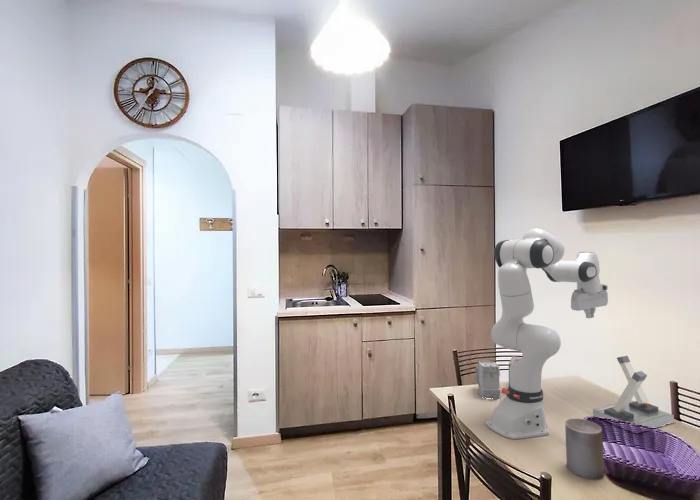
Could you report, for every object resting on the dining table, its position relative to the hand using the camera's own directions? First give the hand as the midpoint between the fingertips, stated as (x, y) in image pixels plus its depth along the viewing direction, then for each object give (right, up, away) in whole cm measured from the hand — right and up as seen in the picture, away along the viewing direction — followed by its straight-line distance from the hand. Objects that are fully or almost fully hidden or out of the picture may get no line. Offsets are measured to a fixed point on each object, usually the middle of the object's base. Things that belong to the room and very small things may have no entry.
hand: (590, 317), depth 165 cm
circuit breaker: (-44, -37, +7) cm, 58 cm away
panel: (+2, -36, -22) cm, 42 cm away
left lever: (-5, -31, -25) cm, 40 cm away
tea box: (-27, -37, +8) cm, 47 cm away
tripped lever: (+8, -30, -20) cm, 37 cm away
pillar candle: (-37, -37, -54) cm, 75 cm away
